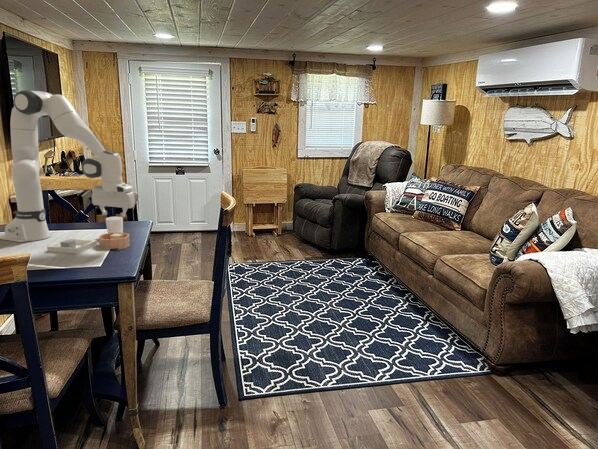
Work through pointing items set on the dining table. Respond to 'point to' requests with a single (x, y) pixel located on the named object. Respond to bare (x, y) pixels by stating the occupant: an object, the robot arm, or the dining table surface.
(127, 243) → the bowl
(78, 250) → the parts tray
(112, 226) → the white cup
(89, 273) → the dining table surface
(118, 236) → the tan cube
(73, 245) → the grey cube
